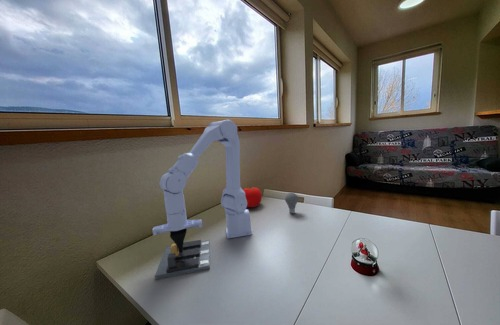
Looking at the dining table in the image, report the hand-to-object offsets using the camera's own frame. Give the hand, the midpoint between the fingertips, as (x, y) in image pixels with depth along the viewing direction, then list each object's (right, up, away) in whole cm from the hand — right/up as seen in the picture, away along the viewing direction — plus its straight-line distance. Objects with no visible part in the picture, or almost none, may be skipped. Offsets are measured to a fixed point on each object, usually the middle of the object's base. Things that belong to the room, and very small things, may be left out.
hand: (181, 251), depth 64 cm
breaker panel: (+1, -3, +1) cm, 3 cm away
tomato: (+23, +5, +44) cm, 50 cm away
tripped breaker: (-2, -1, 0) cm, 2 cm away
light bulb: (+42, +4, +31) cm, 52 cm away
